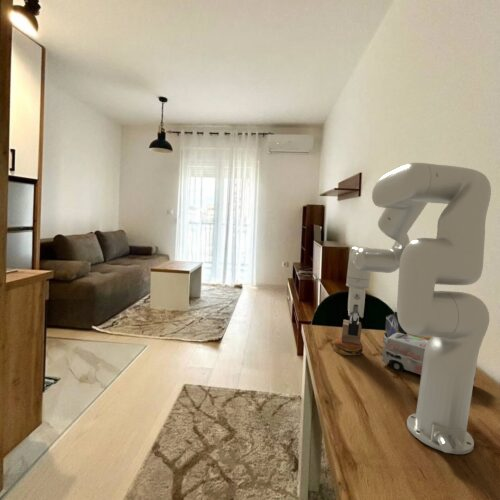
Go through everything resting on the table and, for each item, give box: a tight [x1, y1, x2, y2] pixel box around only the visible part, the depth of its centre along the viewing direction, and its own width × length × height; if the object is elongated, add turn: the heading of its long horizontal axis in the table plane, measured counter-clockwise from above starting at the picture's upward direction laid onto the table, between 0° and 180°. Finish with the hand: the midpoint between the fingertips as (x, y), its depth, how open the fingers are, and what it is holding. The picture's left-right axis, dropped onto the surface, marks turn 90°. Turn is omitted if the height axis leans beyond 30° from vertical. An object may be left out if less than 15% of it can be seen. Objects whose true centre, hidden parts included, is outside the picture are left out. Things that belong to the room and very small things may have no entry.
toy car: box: [380, 333, 478, 383], centre depth 100 cm, size 11×25×10 cm, turn 48°
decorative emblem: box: [382, 311, 408, 344], centre depth 117 cm, size 12×2×15 cm, turn 0°
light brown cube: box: [341, 319, 363, 344], centre depth 114 cm, size 6×6×6 cm
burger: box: [332, 336, 364, 357], centre depth 114 cm, size 10×9×5 cm
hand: (352, 330), depth 113 cm, fingers open, 9 cm apart
